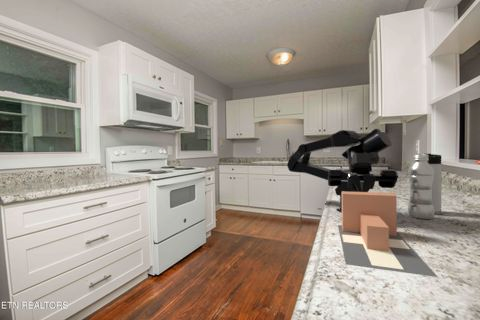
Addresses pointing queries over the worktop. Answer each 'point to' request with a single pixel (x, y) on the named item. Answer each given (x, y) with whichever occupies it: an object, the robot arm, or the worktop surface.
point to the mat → (383, 255)
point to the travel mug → (436, 181)
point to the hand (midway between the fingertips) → (363, 201)
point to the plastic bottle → (421, 188)
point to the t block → (370, 217)
